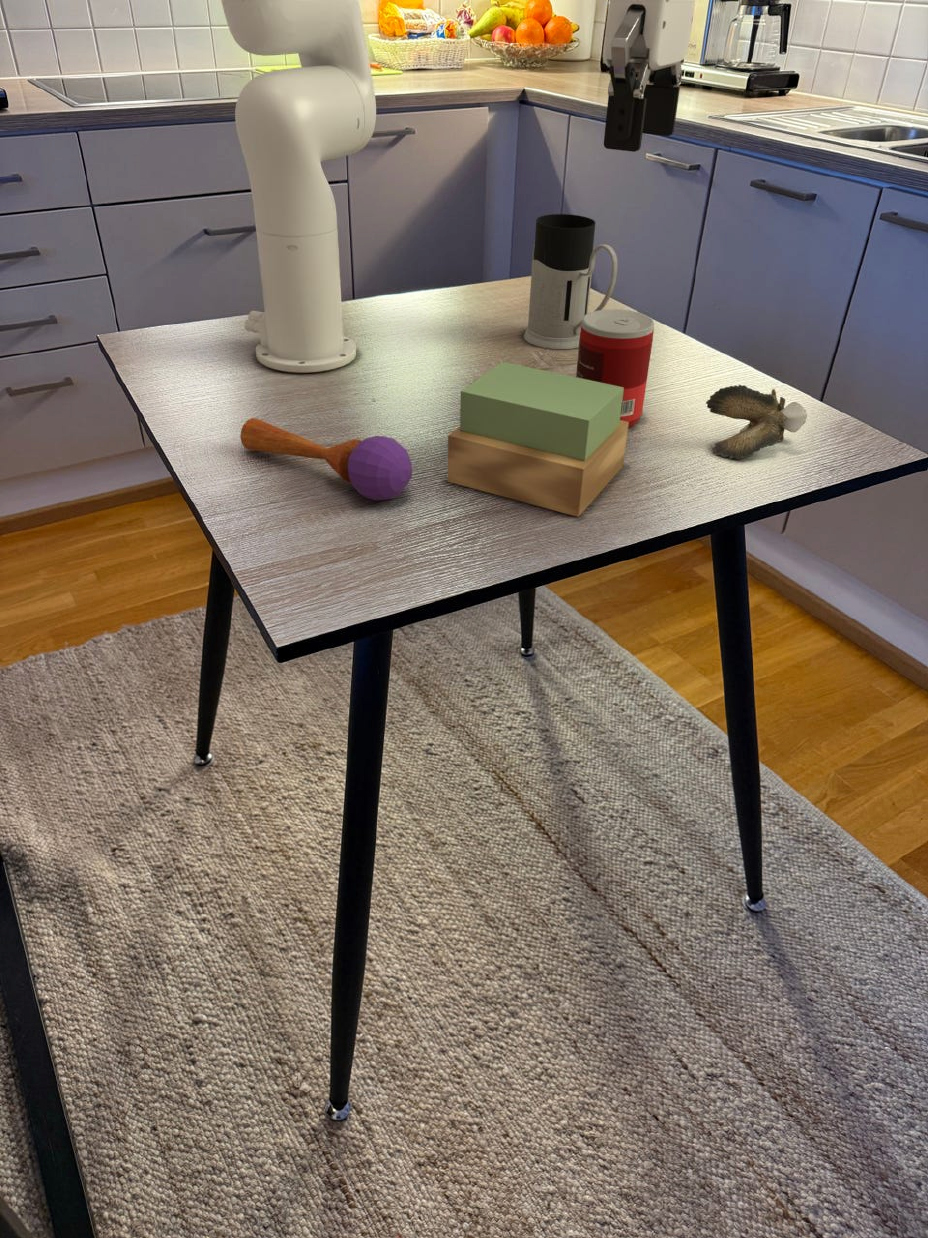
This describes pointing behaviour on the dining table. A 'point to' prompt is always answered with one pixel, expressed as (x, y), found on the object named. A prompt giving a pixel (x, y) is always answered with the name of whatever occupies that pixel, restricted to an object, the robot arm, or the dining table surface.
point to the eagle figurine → (754, 419)
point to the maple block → (534, 470)
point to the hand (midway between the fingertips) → (639, 141)
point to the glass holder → (562, 279)
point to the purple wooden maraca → (341, 457)
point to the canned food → (617, 355)
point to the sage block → (541, 410)
